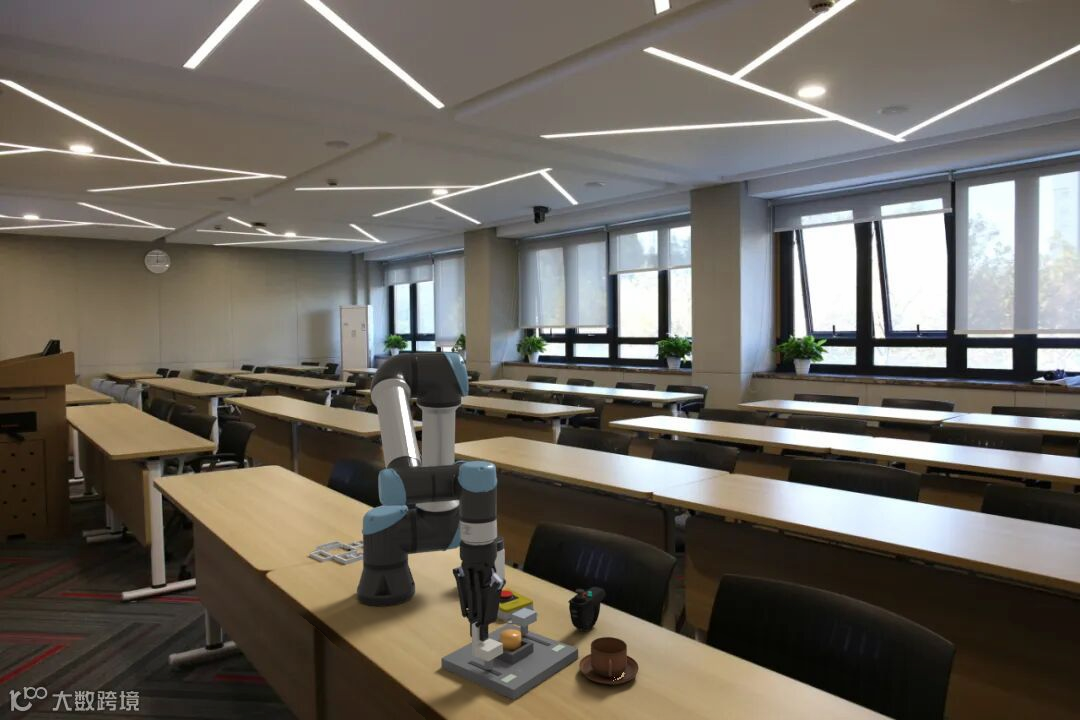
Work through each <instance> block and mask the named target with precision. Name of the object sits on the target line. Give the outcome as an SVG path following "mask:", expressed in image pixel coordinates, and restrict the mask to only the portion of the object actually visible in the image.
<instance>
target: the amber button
mask: <svg viewBox="0 0 1080 720" xmlns="http://www.w3.org/2000/svg"><path fill="white" fill-rule="evenodd" d="M500 643H503V649H506V650H515V649H518V648H520V647H521V632H520V631H518V630H514V629H508V630H504V631H502V632H501V633H500Z"/></svg>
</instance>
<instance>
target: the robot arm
mask: <svg viewBox="0 0 1080 720" xmlns="http://www.w3.org/2000/svg"><path fill="white" fill-rule="evenodd" d="M469 389H470V388H469V377H468V369H467V367H466V363H465V360H464V358H463V356H462V355H461V354H459V353H458V352H447V351H435V352H434V351H433V352H432V351H431V352H412V353H411V352H404V353H402V352H401V353H398V354H395V355H393V356H391V357H389V358H388V359H387V360H385V361H384V362H382V363H381V365H379V366H378V368H377V370H376V371H375V373H374V374H373V377H372V379H371V384H370V390H369V391H370V399H371V402H372V404H373V405H374V406H375V407H376V410H377V411H376V412H377V415H378V416H377V417H378V423H379V430H380V437H381V443H382V450H383V458H384V464H385V469H382V470H380V471H379V473H378V478H377V482H378V486H377V487H378V498H379V502H380V503H381V505H380V506H376V507H374V508H371V509H369V510H367V512H366V513H365V514H364V516H363V517H362V518H363V519H362V529H361V533H362V540H363V543H362V544H363V547H362V552H363V560H362V563H363V564H362V571H361V575H360V579H359V582H358V585H357V587H356V599H357V601H358V602H360V603H361V604H364V605H367V606H373V607H374V606H375V607H383V606H384V607H385V606H393V605H398V604H401V603H404V602H407V601H409V600H411V599H412V598H413V597H414V596H415V594H416V584H415V583H416V582H415V580H414V577H413V574H412V571H411V568H410V566H409V555H413V554H423V553H432V552H433V553H434V552H445V551H447V550H448V551H449V550H454V549H457V548H459V558H460V560H461V563H460V566H458V567H456V568H453V569H452V574H453V577H454V579H455V582H456V587H457V588H456V590H457V594H458V599H459V606H460V610H461V611H460V612H461V616H462V617H463V618H466V619H467V620H468V622H469V636H470V638H471V643H472V656H474V657H476V656H475V646H476V645H478V644H480V643H482V642H484V641H486V640H487V639H488V634H489V625H491V624H493V623H496V621H497V620H498V617H497V614H498V609H499V604H500V598H501V593H502V589H504V587H505V585H506V584H507V583H506V582H507V580H506V578H505V579H504V578H502V579H500V578H499V576H498V575H497V574H496V567H495V560H496V558H497V541H496V540H495V538H496V537H497V535H498V521H497V520H498V519H497V518H498V517H497V516H498V515H497V513H498V512H497V511H498V509H497V505H498V504H497V503H498V502H497V495H498V491H497V485H498V478H497V467H496V465H495V464H494V463H493V462H489V461H484V460H471V461H468V460H457V461H455V451H456V450H455V449H456V446H455V444H456V443H455V442H456V435H455V434H456V410H457V409H458V408H459V407H460V406H462V398H465V397H467V396H468V395H469ZM411 399H416V403H415V404H416V405H417V407H419V409H421V411H422V416H421V418H422V420H421V426H422V428H421V430H422V431H421V432H422V433H421V455H420V451H419V446H418V441H417V437H416V431H415V427H414V426H415V425H414V422H413V417H412V413H411V411H412V410H411V406H410V400H411ZM407 505H415V508H410V509H409V507H408V506H407ZM491 581H492V582H491ZM476 658H478V657H476Z"/></svg>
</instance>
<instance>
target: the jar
mask: <svg viewBox="0 0 1080 720" xmlns="http://www.w3.org/2000/svg"><path fill="white" fill-rule="evenodd" d="M495 540H496V541H497V558H496V560H495V567H496V574H497V575H498V576H499V578H500V579H502V578H504V579H505V580H506V576H505V575H506V571H505V570H506V569H505V568H506V566H505V564H506V563H505V562H506V559H505V557H506V554H505V553H506V551H505V545H504V544H505V538H504V537H503V536H501V535H498V534H497V537H496V538H495ZM491 582H492V581H491Z"/></svg>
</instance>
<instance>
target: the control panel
mask: <svg viewBox="0 0 1080 720" xmlns="http://www.w3.org/2000/svg"><path fill="white" fill-rule="evenodd" d="M508 629H514V630H518V631H520V626H519V627H518V626H517V625H516V626H515V625H514V624H509V623H507V624H505V625H503V626H501V627H499V628H497V629H495V630H493V631H491V632H488V639H493V640H495V641H498V642H500V633H501V632H502V631H504V630H508ZM488 639H487V640H488ZM577 659H579V647H578V648H577V647H574V646H571V645H569V644H567V643H564V642H561V641H558V640H555V639H552V638H549V637H546V636H544V635H541V634H538V633H535V632H534V631H529V630H528V634H526V635H522V634H521V647H520V648H518V649H515V650H506V649H503V653H502V654H501V655H499V656H497V657H495V658H494V659H493V668H492V669H490V670H488V669H486V668H485V660H483V659H480V658H476V657H474V656H472V642H470V643H468V644H466V645H464V646H462V647H460V648H458V649H456V650H455V651H453V652H451V653H449V654H447V655H444V656H443V657H441V668H442V669H444V670H446V671H448V672H451V673H452V674H455V675H457V676H459V677H461V678H464V679H466V680H468V681H470V682H473V683H475V684H477V685H479V686H482V687H484V688H486V689H488V690H490V691H493V692H495V693H497V694H500V695H502V696H504V697H506V698H508V699H511V700H513V701H515V700H517V699H518V698H519V697H521V696H523V695H524V694H526V693H527V692H529V691H530V690H531V689H533V688H535V687H536V686H538V685H539V684H541V683H543V682H544V681H545V680H547V679H549V678H551V677H552V676H553V675H554V674H556V673H558V672H559V671H561V670H562V669H563V668H566V667H567V666H568V665H570V664H571V663H573V662H574V661H576V660H577Z"/></svg>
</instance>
